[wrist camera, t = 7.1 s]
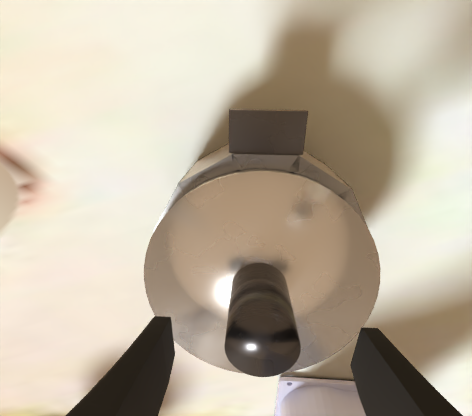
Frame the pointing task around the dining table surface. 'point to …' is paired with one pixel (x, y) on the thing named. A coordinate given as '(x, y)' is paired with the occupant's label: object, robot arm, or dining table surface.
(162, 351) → the robot arm
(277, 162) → the pot
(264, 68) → the dining table surface
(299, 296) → the lid
